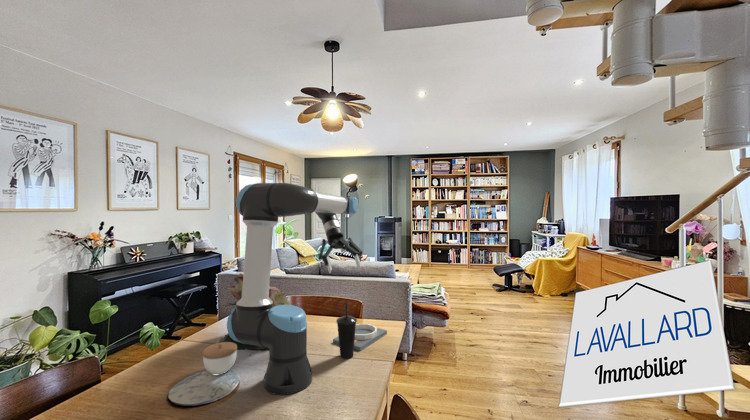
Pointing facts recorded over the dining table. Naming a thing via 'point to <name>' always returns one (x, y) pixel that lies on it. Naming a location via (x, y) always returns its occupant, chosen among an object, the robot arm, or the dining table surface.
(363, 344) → the ring board
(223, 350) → the lidded jar
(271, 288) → the rose bouquet
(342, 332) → the drinking cup
